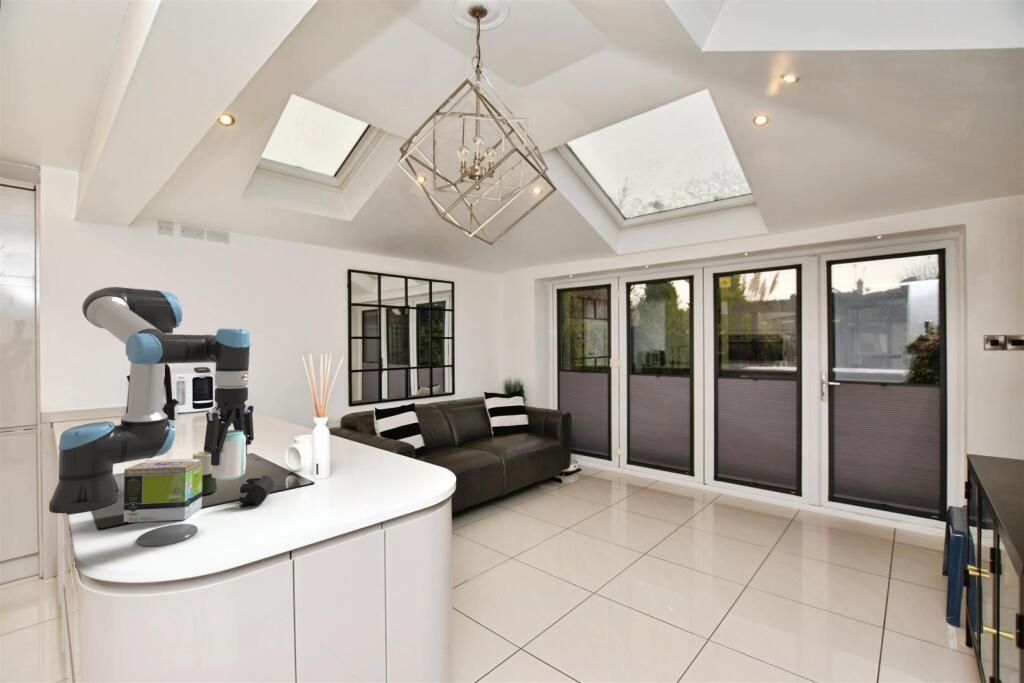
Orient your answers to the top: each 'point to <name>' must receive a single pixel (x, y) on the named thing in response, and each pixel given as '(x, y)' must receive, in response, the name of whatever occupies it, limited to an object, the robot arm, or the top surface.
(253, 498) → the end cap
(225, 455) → the can
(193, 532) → the coaster
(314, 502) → the top surface
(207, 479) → the character mug
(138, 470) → the tea box
